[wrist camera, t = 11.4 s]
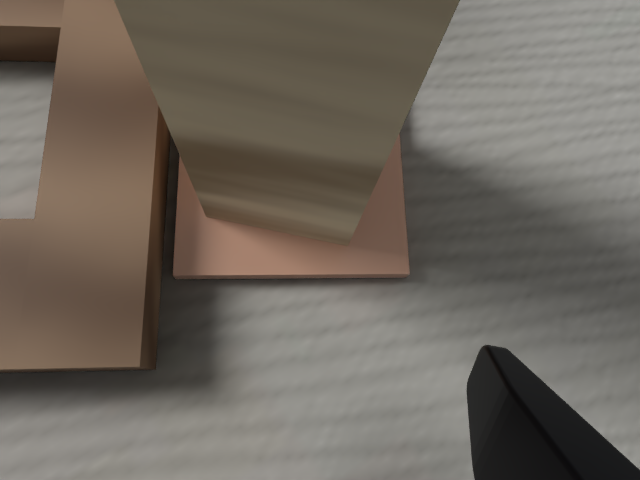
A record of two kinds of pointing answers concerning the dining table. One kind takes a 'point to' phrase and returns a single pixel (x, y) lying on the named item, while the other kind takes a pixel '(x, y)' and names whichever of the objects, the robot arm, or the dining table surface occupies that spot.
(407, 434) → the dining table surface
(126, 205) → the pocket board
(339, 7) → the maple block
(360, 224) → the terracotta tile
